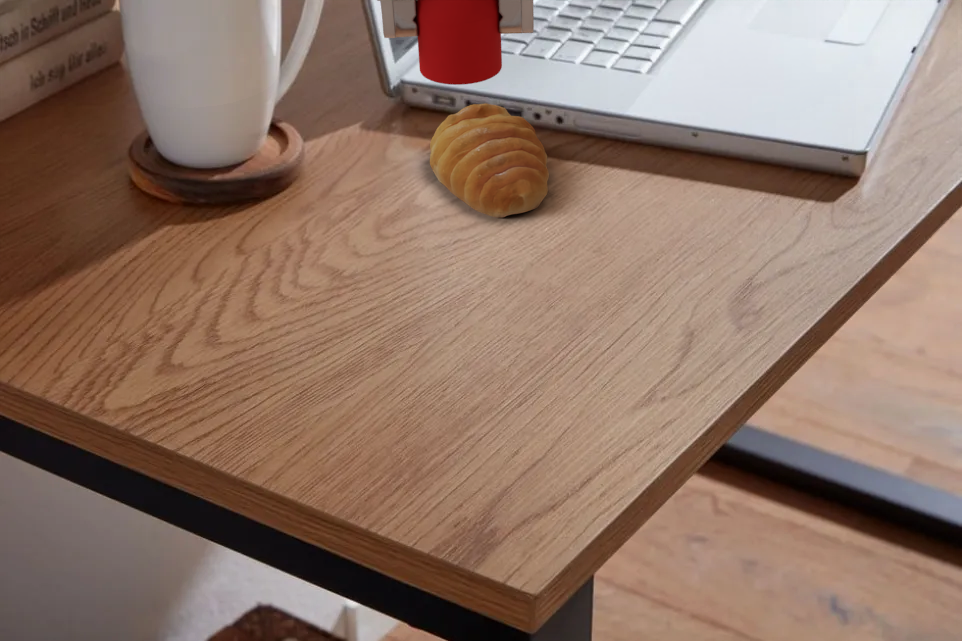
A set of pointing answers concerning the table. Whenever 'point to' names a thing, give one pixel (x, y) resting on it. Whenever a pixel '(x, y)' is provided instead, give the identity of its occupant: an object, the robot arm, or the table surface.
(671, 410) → the table surface
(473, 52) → the red sauce bottle
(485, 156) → the pastry
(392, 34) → the robot arm
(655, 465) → the table surface
